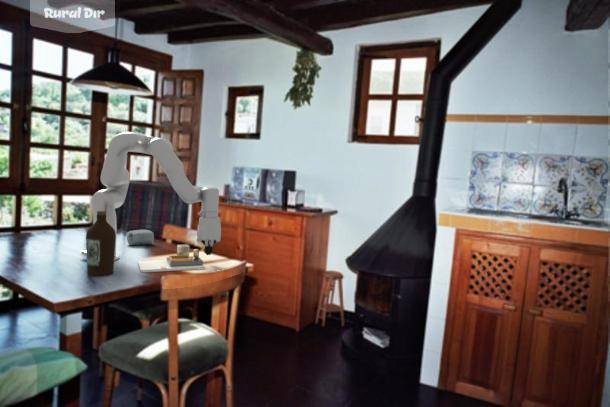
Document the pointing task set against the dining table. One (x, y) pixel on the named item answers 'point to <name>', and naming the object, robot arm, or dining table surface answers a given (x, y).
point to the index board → (163, 266)
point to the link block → (182, 249)
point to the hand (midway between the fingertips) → (208, 254)
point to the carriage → (185, 259)
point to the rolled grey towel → (140, 237)
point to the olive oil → (100, 247)
